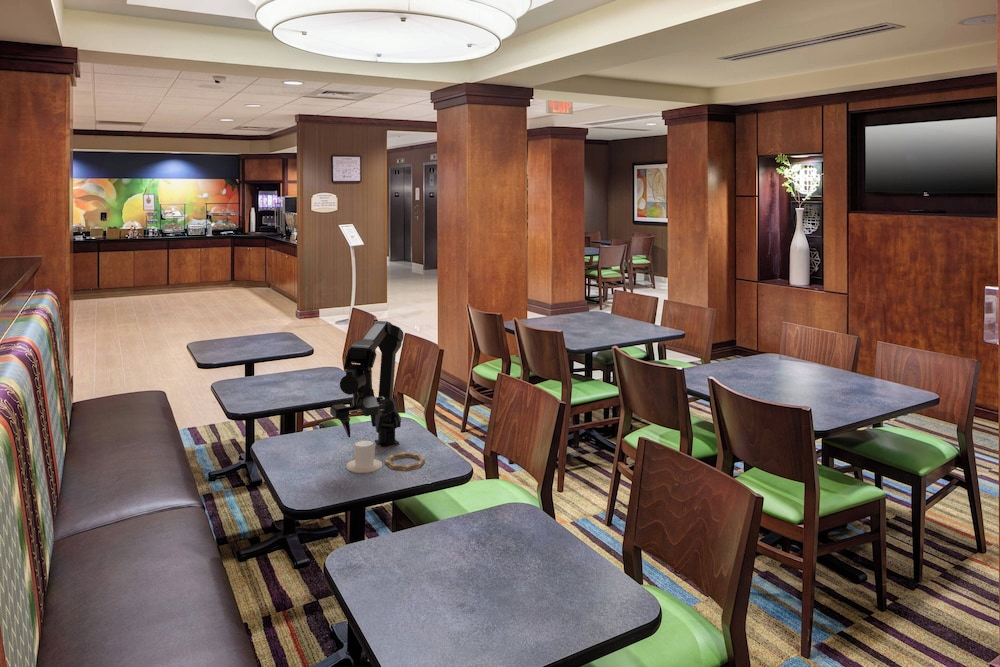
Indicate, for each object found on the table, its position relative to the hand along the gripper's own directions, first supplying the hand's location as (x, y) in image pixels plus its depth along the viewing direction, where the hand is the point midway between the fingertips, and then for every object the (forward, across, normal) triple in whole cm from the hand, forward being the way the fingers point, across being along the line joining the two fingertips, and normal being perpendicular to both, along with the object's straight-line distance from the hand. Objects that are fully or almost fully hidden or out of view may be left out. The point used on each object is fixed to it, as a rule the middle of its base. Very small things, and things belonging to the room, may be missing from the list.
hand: (363, 434), depth 220 cm
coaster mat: (+10, 0, 0) cm, 10 cm away
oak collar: (+10, +12, -4) cm, 16 cm away
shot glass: (+10, 0, 0) cm, 10 cm away
